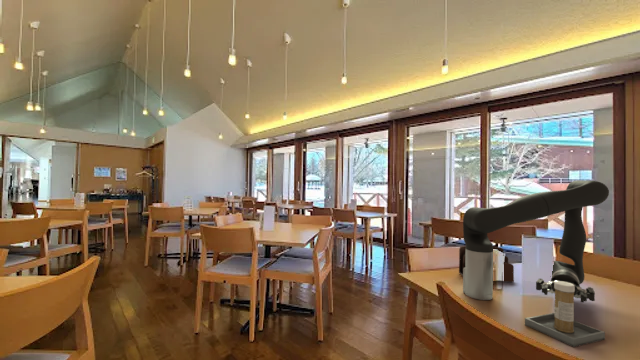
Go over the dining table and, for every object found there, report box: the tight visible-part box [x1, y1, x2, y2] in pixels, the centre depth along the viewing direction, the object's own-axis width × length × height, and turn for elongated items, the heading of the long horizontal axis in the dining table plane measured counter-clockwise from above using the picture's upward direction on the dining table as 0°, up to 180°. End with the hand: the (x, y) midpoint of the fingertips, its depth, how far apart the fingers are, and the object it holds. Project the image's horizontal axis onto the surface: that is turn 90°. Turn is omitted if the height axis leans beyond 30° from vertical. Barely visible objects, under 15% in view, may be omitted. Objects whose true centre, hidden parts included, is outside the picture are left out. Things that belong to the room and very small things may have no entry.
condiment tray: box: [524, 312, 606, 348], centre depth 86 cm, size 13×13×2 cm
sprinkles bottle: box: [553, 281, 575, 333], centre depth 86 cm, size 5×5×14 cm
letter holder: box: [458, 245, 515, 283], centre depth 137 cm, size 10×20×14 cm, turn 85°
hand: (563, 295), depth 90 cm, fingers open, 8 cm apart
